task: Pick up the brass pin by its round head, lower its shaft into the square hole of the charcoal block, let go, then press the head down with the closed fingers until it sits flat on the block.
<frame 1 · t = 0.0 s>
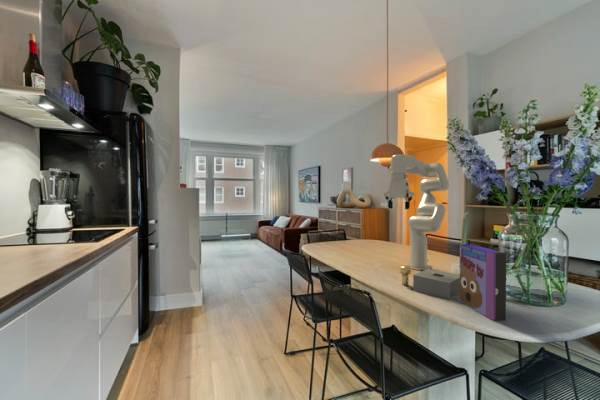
hand: (398, 208, 150), 37 cm above the table, tool pointing down, fingers open, 9 cm apart
brass pin: (405, 284, 135), on the table
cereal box: (480, 310, 105), on the table
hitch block: (438, 290, 127), on the table
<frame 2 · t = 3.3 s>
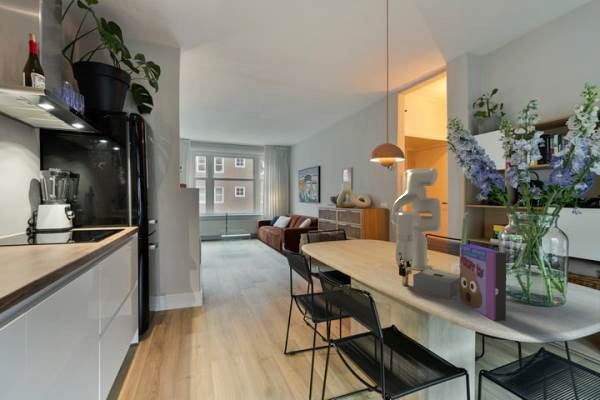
hand: (405, 274, 135), 5 cm above the table, tool pointing down, fingers closed on brass pin, 5 cm apart
brass pin: (405, 284, 135), on the table, touching gripper
everything else where it was.
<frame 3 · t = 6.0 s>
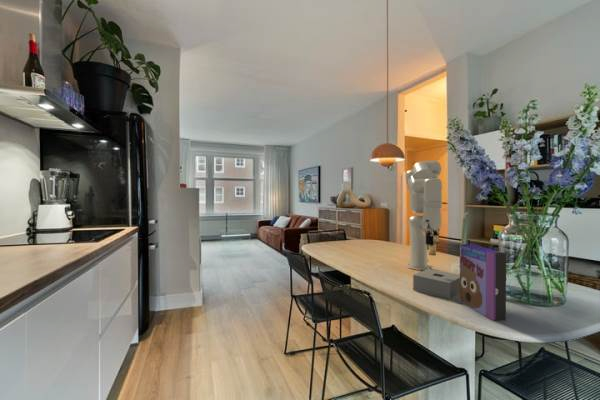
hand: (432, 243, 128), 22 cm above the table, tool pointing down, fingers closed on brass pin, 5 cm apart
brass pin: (432, 254, 128), point 16 cm above the table, touching gripper
everything else where it was.
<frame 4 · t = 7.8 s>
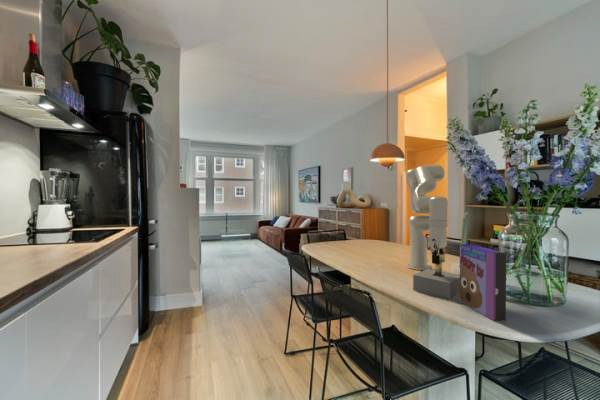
hand: (438, 262, 127), 13 cm above the table, tool pointing down, fingers closed on brass pin, 5 cm apart
brass pin: (438, 273, 127), point 8 cm above the table, touching gripper
everything else where it was.
when the fingers open (9 cm above the table, at t = 9.1 s): brass pin drops 2 cm, resting on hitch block.
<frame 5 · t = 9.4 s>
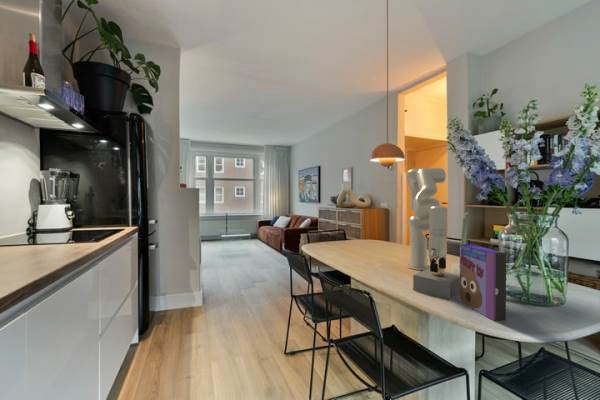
hand: (438, 269, 127), 9 cm above the table, tool pointing down, fingers open, 8 cm apart
brass pin: (438, 288, 127), point 1 cm above the table, touching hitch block
everything else where it was.
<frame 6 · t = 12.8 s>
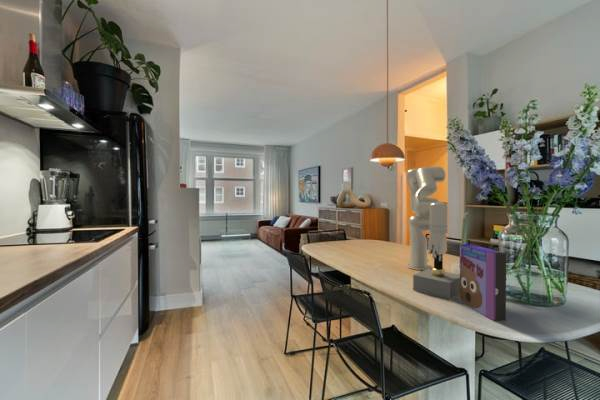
hand: (438, 268, 127), 10 cm above the table, tool pointing down, fingers closed
brass pin: (438, 288, 127), point 1 cm above the table, touching gripper, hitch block
everything else where it was.
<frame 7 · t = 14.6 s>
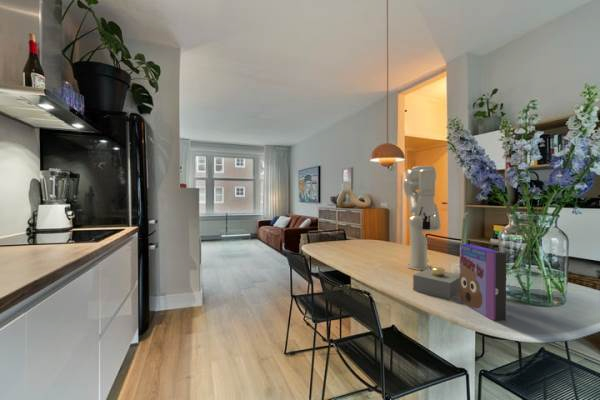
hand: (426, 229, 141), 27 cm above the table, tool pointing down, fingers closed
brass pin: (438, 288, 127), point 1 cm above the table, touching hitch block
everything else where it was.
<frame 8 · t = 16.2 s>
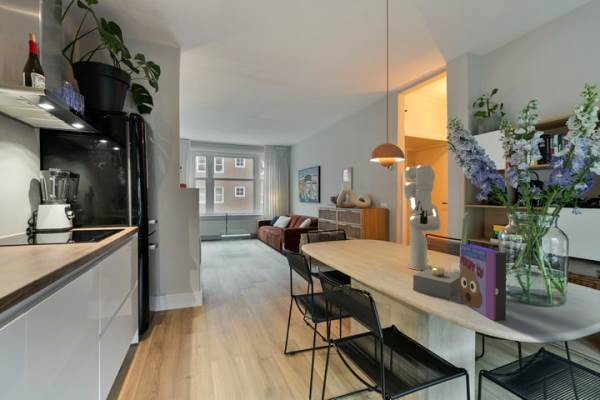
hand: (423, 223, 144), 29 cm above the table, tool pointing down, fingers closed
nothing on the table moved.
at the end: brass pin 0.0 cm off-centre on the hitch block, point 1.0 cm above the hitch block's base; brass pin tilted 0°; the gripper is holding nothing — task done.
